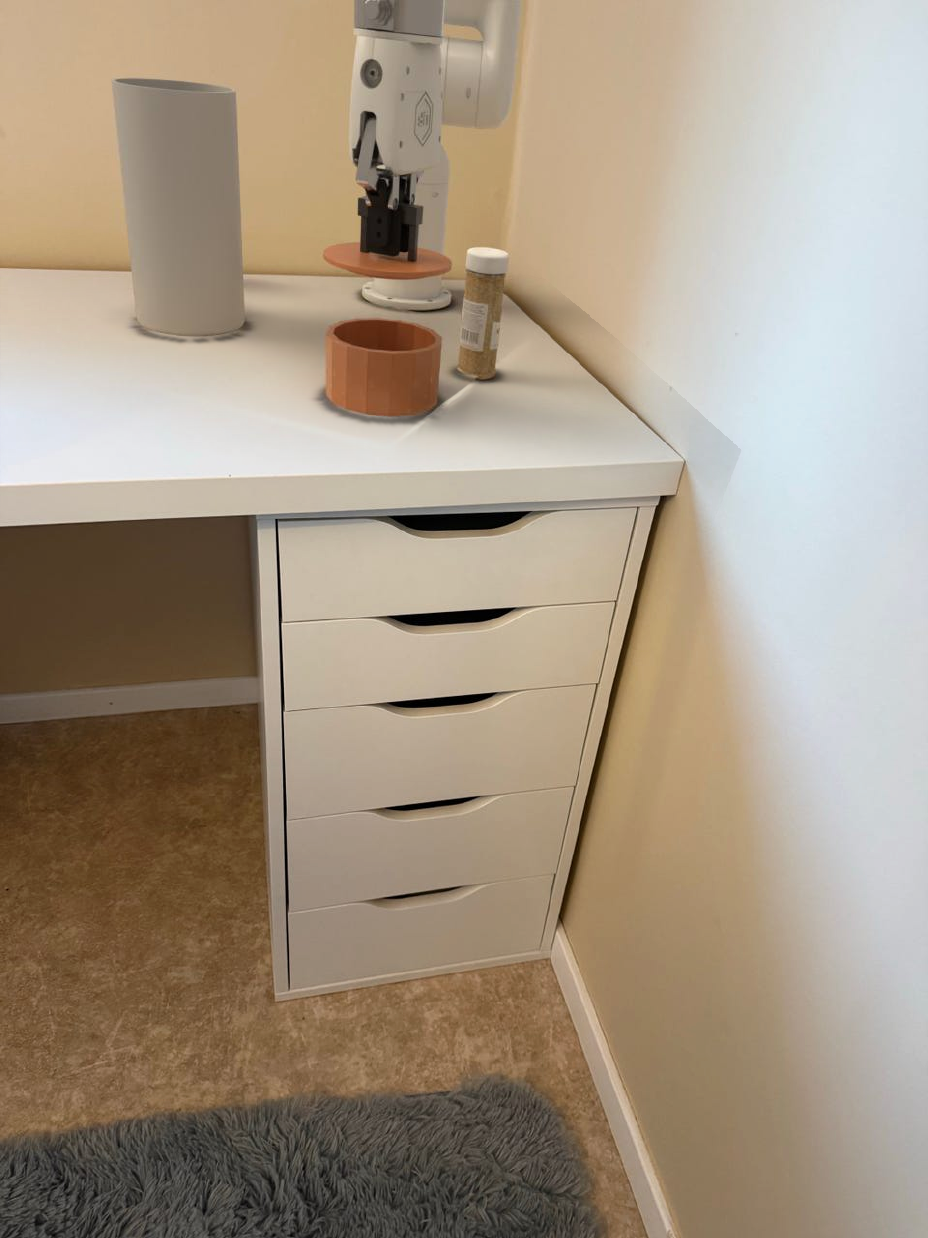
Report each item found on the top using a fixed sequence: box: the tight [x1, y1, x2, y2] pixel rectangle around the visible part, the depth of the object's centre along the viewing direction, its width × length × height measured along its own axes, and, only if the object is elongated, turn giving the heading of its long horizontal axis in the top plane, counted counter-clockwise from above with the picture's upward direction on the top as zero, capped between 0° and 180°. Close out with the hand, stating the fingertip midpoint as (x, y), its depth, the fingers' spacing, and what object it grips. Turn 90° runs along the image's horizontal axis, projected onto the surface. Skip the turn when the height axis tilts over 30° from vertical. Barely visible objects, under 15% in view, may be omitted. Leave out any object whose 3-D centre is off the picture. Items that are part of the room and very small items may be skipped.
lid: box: [322, 195, 453, 280], centre depth 85 cm, size 12×12×6 cm
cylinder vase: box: [111, 77, 246, 337], centre depth 102 cm, size 12×12×25 cm
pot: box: [325, 317, 443, 417], centre depth 92 cm, size 11×11×7 cm
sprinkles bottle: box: [456, 246, 510, 381], centre depth 100 cm, size 5×5×13 cm
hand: (388, 250), depth 85 cm, fingers closed on lid, 1 cm apart
